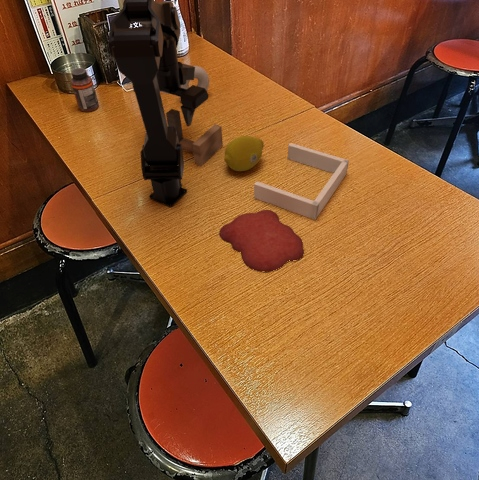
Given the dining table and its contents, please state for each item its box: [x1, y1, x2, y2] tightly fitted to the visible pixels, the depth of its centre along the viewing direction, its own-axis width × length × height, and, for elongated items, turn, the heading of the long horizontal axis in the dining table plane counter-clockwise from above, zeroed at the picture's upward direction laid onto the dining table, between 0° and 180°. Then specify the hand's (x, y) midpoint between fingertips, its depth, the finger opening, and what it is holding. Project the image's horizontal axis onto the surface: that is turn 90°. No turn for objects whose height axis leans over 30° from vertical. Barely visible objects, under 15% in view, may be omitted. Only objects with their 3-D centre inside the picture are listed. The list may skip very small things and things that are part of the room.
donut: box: [181, 65, 210, 91], centre depth 133 cm, size 10×4×10 cm, turn 117°
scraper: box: [165, 108, 224, 167], centre depth 114 cm, size 10×12×10 cm
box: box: [253, 142, 350, 221], centre depth 105 cm, size 18×15×4 cm
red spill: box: [218, 209, 305, 272], centre depth 94 cm, size 18×14×2 cm
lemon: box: [224, 135, 265, 172], centre depth 109 cm, size 11×8×8 cm
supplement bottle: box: [70, 67, 100, 113], centre depth 130 cm, size 6×6×11 cm
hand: (174, 121), depth 115 cm, fingers open, 9 cm apart
